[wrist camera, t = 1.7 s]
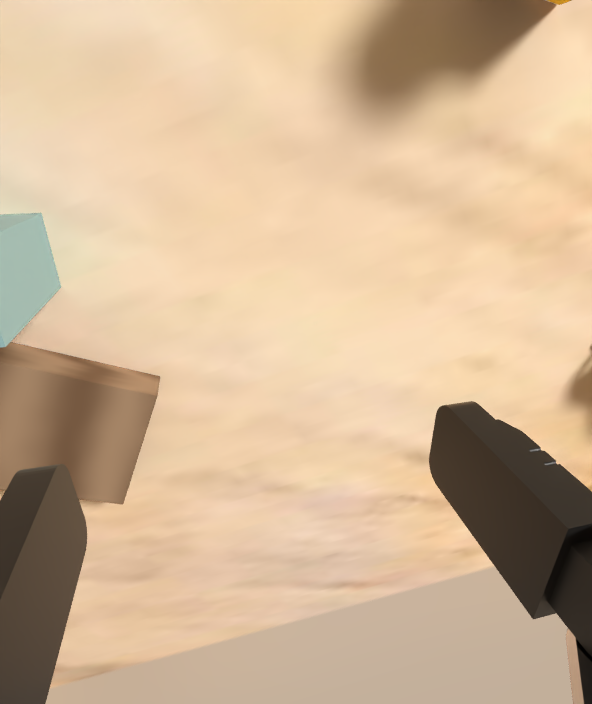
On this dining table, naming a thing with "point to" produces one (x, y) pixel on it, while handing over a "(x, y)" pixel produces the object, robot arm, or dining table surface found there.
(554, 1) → the medicine bottle
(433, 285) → the dining table surface
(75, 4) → the dining table surface
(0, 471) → the walnut base plate
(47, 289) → the teal pillar block
